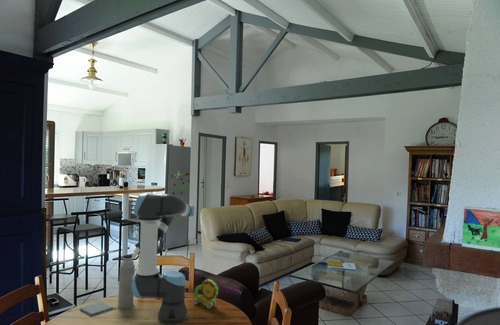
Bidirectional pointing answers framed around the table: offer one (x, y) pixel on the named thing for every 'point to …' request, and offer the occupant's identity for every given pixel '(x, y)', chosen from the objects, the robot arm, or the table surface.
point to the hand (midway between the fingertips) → (141, 259)
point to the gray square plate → (96, 308)
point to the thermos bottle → (126, 282)
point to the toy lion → (206, 293)
